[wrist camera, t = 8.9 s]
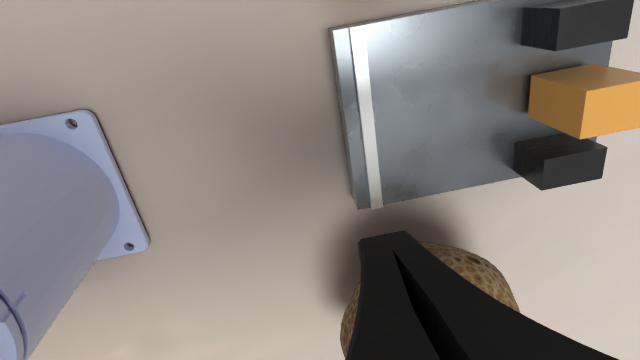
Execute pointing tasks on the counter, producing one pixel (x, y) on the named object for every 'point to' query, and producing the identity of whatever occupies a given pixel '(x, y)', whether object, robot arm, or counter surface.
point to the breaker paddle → (586, 100)
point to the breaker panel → (465, 95)
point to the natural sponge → (459, 261)
